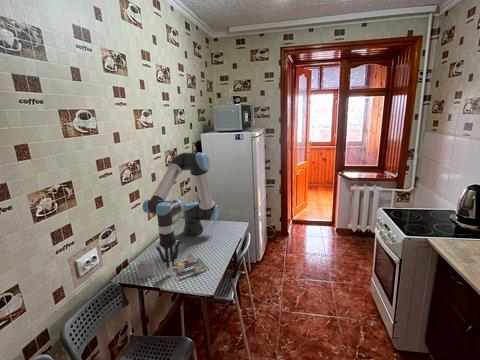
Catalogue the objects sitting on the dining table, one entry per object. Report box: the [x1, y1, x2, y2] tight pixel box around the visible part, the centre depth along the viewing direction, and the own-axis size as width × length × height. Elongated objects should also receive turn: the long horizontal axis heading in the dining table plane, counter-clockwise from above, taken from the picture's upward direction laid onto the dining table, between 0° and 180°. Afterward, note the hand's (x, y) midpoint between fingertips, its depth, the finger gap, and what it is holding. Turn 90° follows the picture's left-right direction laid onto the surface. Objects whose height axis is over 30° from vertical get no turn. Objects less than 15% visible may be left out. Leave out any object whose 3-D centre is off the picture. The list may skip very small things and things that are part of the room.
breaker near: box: [193, 262, 203, 274], centre depth 143 cm, size 3×3×4 cm
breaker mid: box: [176, 262, 186, 273], centre depth 144 cm, size 3×3×4 cm
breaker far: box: [186, 253, 195, 264], centre depth 153 cm, size 3×3×4 cm
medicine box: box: [137, 259, 157, 279], centre depth 143 cm, size 8×4×9 cm, turn 92°
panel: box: [171, 257, 211, 282], centre depth 148 cm, size 16×22×2 cm
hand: (171, 271), depth 142 cm, fingers closed
